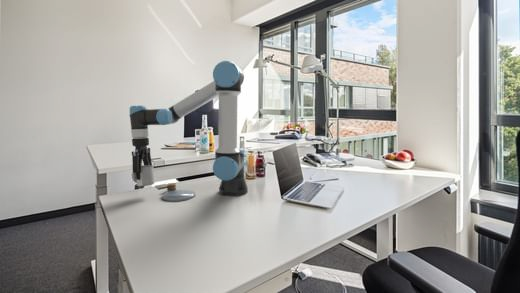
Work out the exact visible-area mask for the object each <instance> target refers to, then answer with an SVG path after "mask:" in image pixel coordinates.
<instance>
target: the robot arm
mask: <svg viewBox="0 0 520 293" xmlns="http://www.w3.org/2000/svg"><path fill="white" fill-rule="evenodd" d="M212 79H213V81H211V82H210V83H208V84H206V85H204V86H203V87H202V88H200V89H198V90H197V91H195V92H193V93H192V94H190V95H188V96H187V97H185V98H183V99H181V100H180V101H178V102H177V103H175V104H173V105H172V106H170V107H168V108H156V109H155V108H154V109H153V108H151V109H149V108H148V109H147V106H146V105H131V106H130V107H129V119H130V120H129V121H130V128H131V129H130V133H131V138H132V139H131V141H132V142H131V144H132V146H133V147H134V148H135V149H134V151H131V156H132V160H131V161H132V162H131V163H132V173H136V175H135V176H136V180H137V183H136V186H137V187H144V186H143V178H142V172H141V166H144V165H153V162H152V157H151V148H150V147H147V146H149V145H150V138H149V126H166V125H167V126H168V125H172V124H176V123H177V122H179V120H180V119H182V118H183V117H185V116H187V115H188V114H190V113H192V112H194V111H196V110H197V109H199V108H200V107H202V106H204V105H205V104H207V103H209V102H211V101H212V100H214V99H215V98H216V99H217V97H218V147H217V149H215V151H214V153H215V154H214V156H215V158H214V161H213V164H212V171H213V174H214V176H215V177H216V178H218V180H221V181H220V184H219V187H218V193H219V194H220V195H222V196H226V197H227V196H228V197H230V196H231V197H236V196H241V195H242V196H243V195H246V194H247V193H248V192H249V187H248V184H247V182H246V179H245V155H246V154H245V150H244V149H242V148H241V149H240V148H238V96H239V95H240V94H241V92H242V85H243V83H244V81H245V80H244V79H245V75H244V72H243V69H242V68H241V67H240V66H238V64H236V63H235V62H233V61H232V60H231V61H230V60H223V61H220V62H218V63H217V64H216V65H215V66H214V68H213V71H212ZM142 163H143V164H142Z"/></svg>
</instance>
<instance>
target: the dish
mask: <svg viewBox="0 0 520 293" xmlns="http://www.w3.org/2000/svg"><path fill="white" fill-rule="evenodd" d="M195 197H196V192H195V191H194V190H191V189H176V190H173V191H168V192H167V191H166V192H164V193H162V194H161V198H162V200H163V201H166V202H184V201H187V200H192V199H193V198H195Z"/></svg>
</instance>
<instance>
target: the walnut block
mask: <svg viewBox="0 0 520 293" xmlns="http://www.w3.org/2000/svg"><path fill="white" fill-rule="evenodd" d="M173 190H177V183H173V182H172V183H167V186H166V192H168V191H173Z"/></svg>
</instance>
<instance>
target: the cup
mask: <svg viewBox="0 0 520 293" xmlns="http://www.w3.org/2000/svg"><path fill="white" fill-rule="evenodd" d="M141 172H142V178H143V186H142V187H146V186H147V187H148V186H152V185H155V171H154V165H153V164H152V165H144V164H143V165H142V166H141ZM131 173H132V174H131V179H132V181H133V182H134V183H135V184H137V180H136V173H133V172H131Z"/></svg>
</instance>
